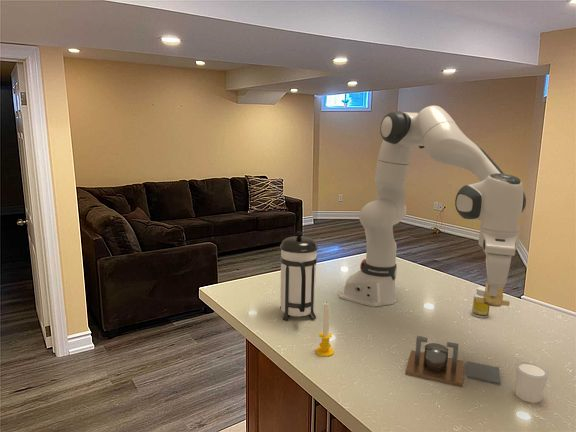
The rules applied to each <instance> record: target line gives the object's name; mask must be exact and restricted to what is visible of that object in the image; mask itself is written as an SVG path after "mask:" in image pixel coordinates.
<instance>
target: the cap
mask: <svg viewBox="0 0 576 432" xmlns="http://www.w3.org/2000/svg"><path fill="white" fill-rule="evenodd" d="M489 287H490V285H489V284H488V279H486V280H485V287H484V288H485V292H484V298H480V297H477V299H476V301H477V302H480V303H484V304H486V305H489V306H490V307H494V308H495V307H497V308H499V307H500V308H501V307H502V306H506V307H510V301H509V300H504V287H505V286H504V287H498V291H497V296H490V295H489Z"/></svg>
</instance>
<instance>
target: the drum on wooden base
mask: <svg viewBox="0 0 576 432" xmlns="http://www.w3.org/2000/svg"><path fill="white" fill-rule="evenodd" d="M428 341H429V339H428V337H426V336H425V337H424V336H419V335H417V336H416V340H415V350H413V349H411V350H410V352H409V357H408V361H407V363H406V367H405V375H408V376H413V377H416V378H421V379H424V380H425V379H426V380H430V381H434V382H439V383H443V384H447V385H451V386H455V387H460V388H462V387H463V379H464V378H463V377H464V360H462V359H458V355H459V344H460V343H456V342H450V341H447V343H446V346H445V345H443V344H440V343H436V342H435V343H434V342H430V343H428ZM422 343H426V344H425V345H424V352H423V351H421V349H422ZM448 348H450V349H451V348H452V356H451V357H449V349H448Z"/></svg>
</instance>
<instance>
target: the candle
mask: <svg viewBox="0 0 576 432" xmlns="http://www.w3.org/2000/svg"><path fill="white" fill-rule="evenodd" d="M322 312H323V316H322V331H321V332H320V333H319V334H318V337H320V338H321V339H320V340H321V342H320V343H319V347H317V348H315V353H316V354H317V356H320V357H324V358H326V357H327V358H329V357H331V356H333V355H334V353H335V350H334V349H333V347H331V346H332V345H331V343H330V339H331V338H332V337H333V333H331V332H329V331H330V330H329V328H330V327H329V326H330V303H328V302H327V301H326V302H325V303H323V311H322Z"/></svg>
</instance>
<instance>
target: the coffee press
mask: <svg viewBox="0 0 576 432" xmlns="http://www.w3.org/2000/svg"><path fill="white" fill-rule="evenodd" d="M295 235H296V236H289V237H286V238H285V239H282V241H281V243H280V245H279V249H280V258H279V259H280V306H279V309H280V311H282V313H284V314H283V316H282V321H285V322H288V321H289V320H290V318H291V317H305V316H307V317H309V319H310V320H311V321H314V320H316V319H317V316H316V314H315V309H316V284H317V283H316V282H317V281H316V280H317V263H318V257H317V252H318V249H319V245H317V243H316V241H315V240H314V239H312V238H311V237H308V236H303V232H302V231H301V230H297V231H296V233H295Z"/></svg>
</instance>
